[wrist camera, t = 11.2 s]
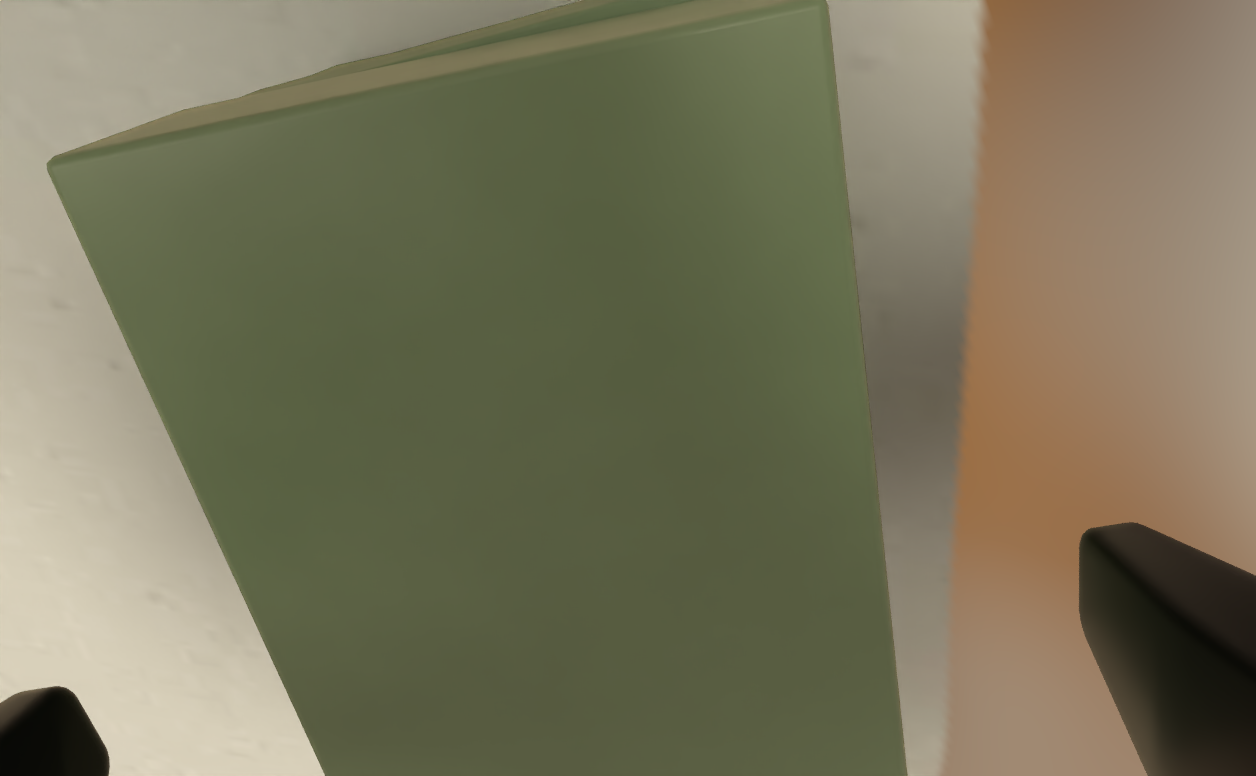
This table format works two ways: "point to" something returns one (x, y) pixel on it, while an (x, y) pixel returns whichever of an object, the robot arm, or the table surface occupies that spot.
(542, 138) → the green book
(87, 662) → the table surface
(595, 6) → the green pile
